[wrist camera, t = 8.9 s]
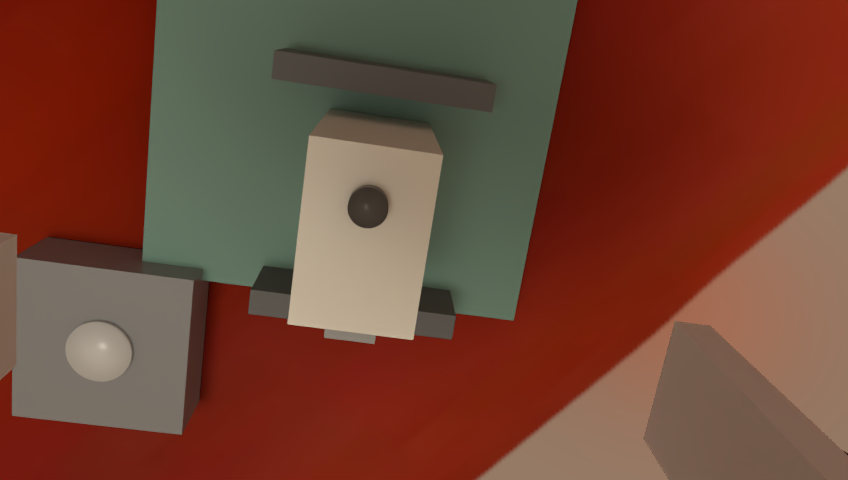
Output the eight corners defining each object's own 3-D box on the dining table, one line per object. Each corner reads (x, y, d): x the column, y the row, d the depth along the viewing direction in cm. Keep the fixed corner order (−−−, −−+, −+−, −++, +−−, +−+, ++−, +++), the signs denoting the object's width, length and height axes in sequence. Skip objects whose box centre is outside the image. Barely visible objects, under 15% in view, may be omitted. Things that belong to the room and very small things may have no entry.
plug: (330, 108, 29) (306, 138, 21) (429, 123, 30) (444, 158, 21) (311, 265, 31) (282, 349, 23) (405, 277, 31) (410, 365, 23)
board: (187, -313, 27) (148, -380, 22) (614, -230, 28) (655, -277, 24) (151, 274, 33) (115, 311, 28) (505, 320, 34) (522, 362, 30)
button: (47, 236, 32) (9, 259, 29) (210, 258, 33) (191, 282, 29) (44, 382, 34) (8, 419, 31) (199, 400, 34) (179, 438, 31)
